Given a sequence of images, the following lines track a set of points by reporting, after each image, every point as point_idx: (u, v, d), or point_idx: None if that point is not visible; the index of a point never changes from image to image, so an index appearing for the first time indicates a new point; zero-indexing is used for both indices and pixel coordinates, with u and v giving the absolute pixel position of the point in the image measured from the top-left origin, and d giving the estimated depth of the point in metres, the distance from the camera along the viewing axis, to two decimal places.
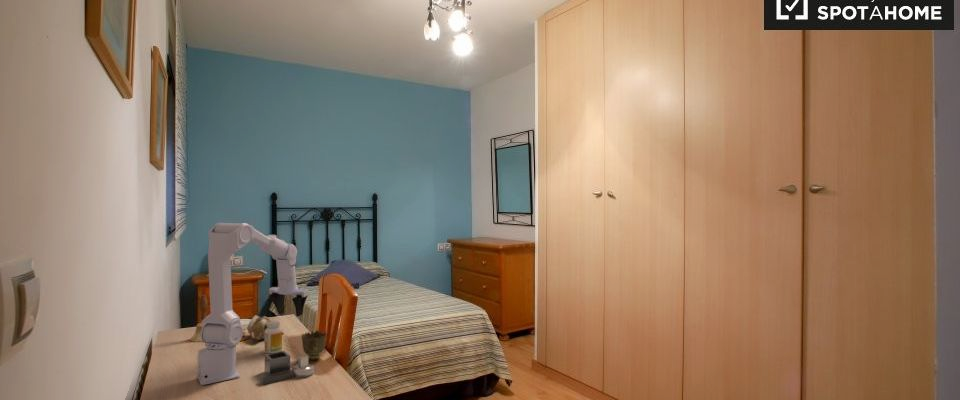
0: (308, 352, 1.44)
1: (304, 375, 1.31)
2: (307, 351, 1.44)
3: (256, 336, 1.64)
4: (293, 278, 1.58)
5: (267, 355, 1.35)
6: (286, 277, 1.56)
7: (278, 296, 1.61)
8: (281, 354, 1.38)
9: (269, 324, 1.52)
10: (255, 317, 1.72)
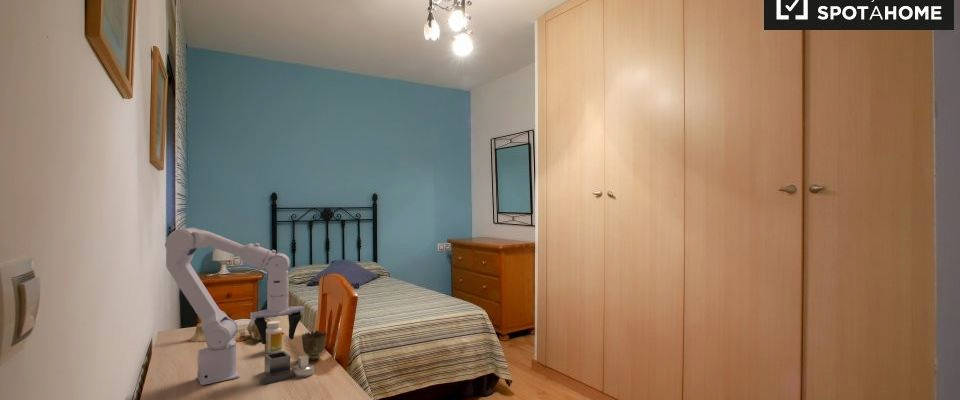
0: (308, 352, 1.44)
1: (304, 375, 1.31)
2: (307, 351, 1.44)
3: (256, 336, 1.64)
4: (267, 296, 1.33)
5: (267, 355, 1.35)
6: (268, 293, 1.33)
7: (290, 316, 1.38)
8: (281, 354, 1.38)
9: (269, 324, 1.52)
10: None
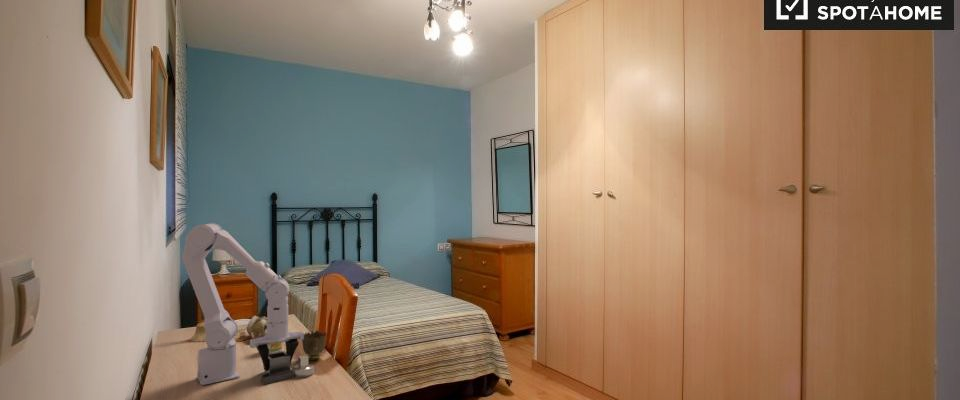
0: (308, 352, 1.44)
1: (304, 375, 1.31)
2: (307, 351, 1.44)
3: (256, 336, 1.63)
4: (267, 323, 1.33)
5: None
6: (268, 320, 1.33)
7: (287, 342, 1.38)
8: (281, 354, 1.38)
9: None
10: (254, 317, 1.72)
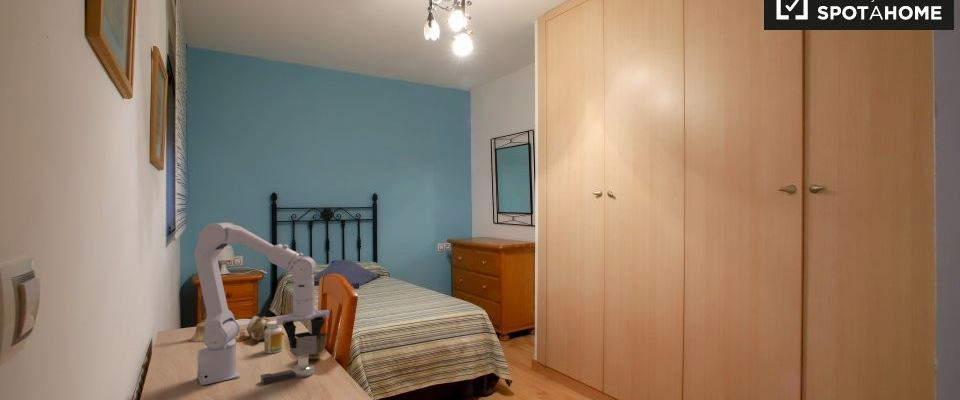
0: None
1: (304, 375, 1.31)
2: None
3: (256, 336, 1.63)
4: (293, 300, 1.32)
5: None
6: (293, 297, 1.32)
7: (313, 320, 1.36)
8: (307, 334, 1.37)
9: (269, 324, 1.52)
10: (254, 317, 1.72)
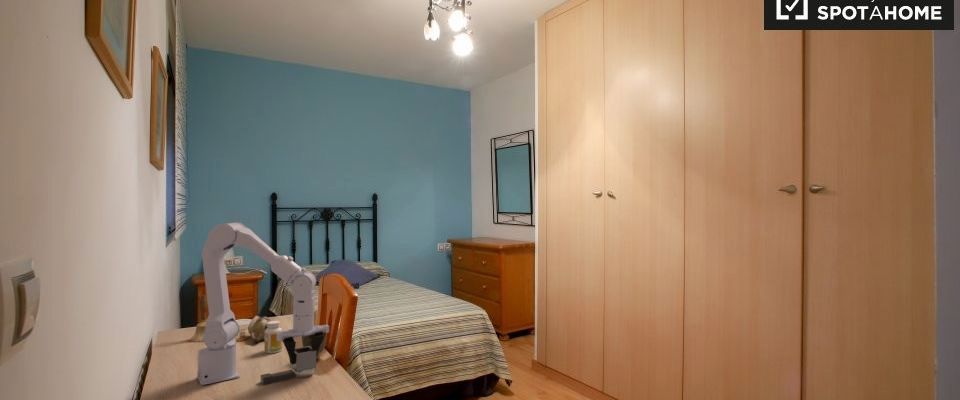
0: None
1: (304, 375, 1.31)
2: None
3: (256, 336, 1.63)
4: (293, 316, 1.32)
5: None
6: (293, 313, 1.32)
7: (313, 335, 1.36)
8: (306, 349, 1.37)
9: (269, 324, 1.52)
10: (256, 317, 1.72)
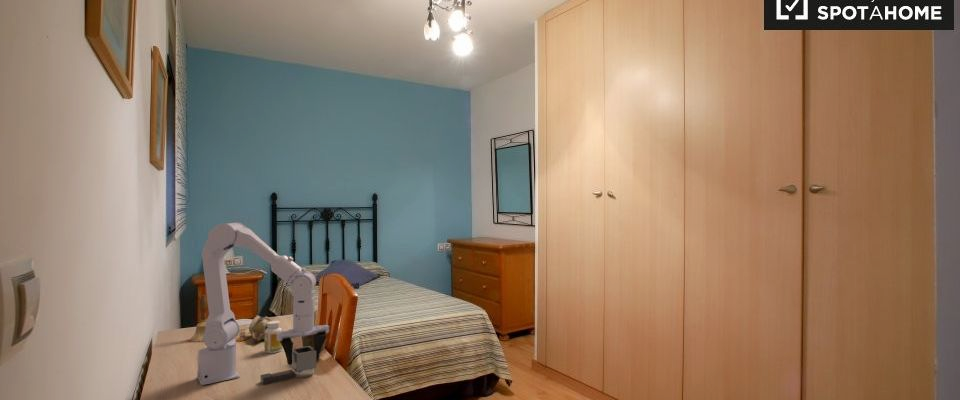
0: None
1: (304, 375, 1.31)
2: None
3: (257, 336, 1.63)
4: (293, 316, 1.32)
5: (293, 350, 1.34)
6: (293, 313, 1.32)
7: (315, 335, 1.37)
8: (306, 349, 1.37)
9: (269, 324, 1.52)
10: (257, 317, 1.72)
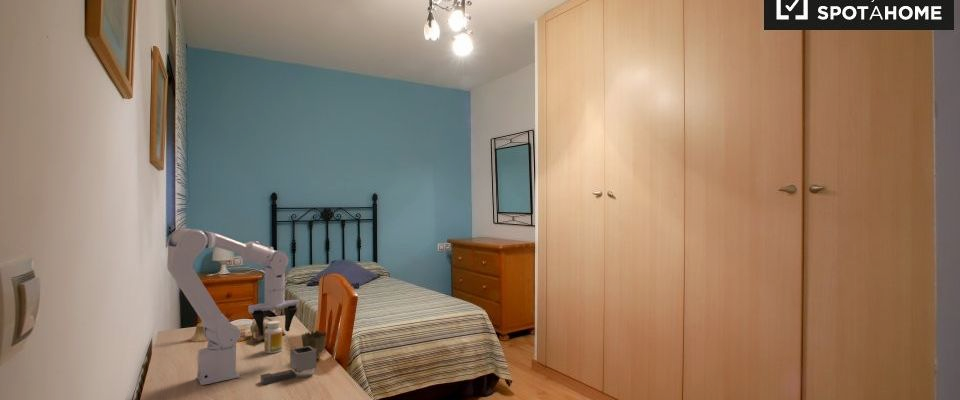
0: None
1: (304, 375, 1.31)
2: None
3: (257, 336, 1.63)
4: None
5: (293, 350, 1.34)
6: (269, 288, 1.40)
7: (286, 309, 1.46)
8: (306, 349, 1.37)
9: (269, 324, 1.52)
10: None
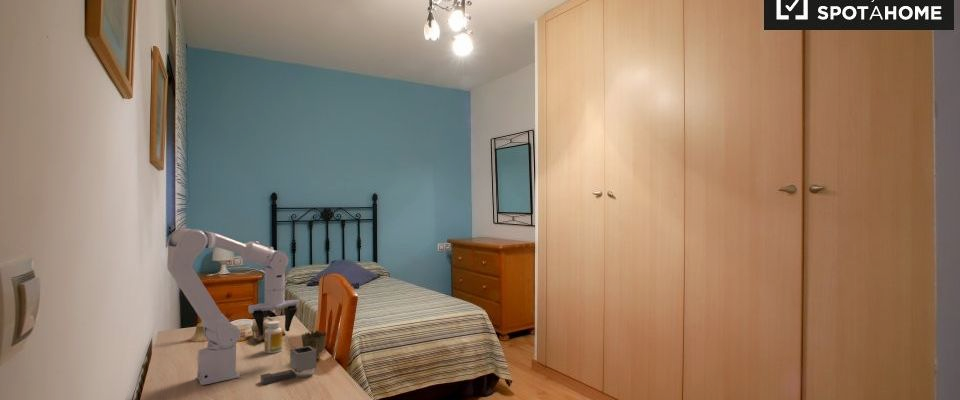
0: None
1: (304, 375, 1.31)
2: None
3: (258, 336, 1.63)
4: None
5: (293, 350, 1.34)
6: (269, 288, 1.40)
7: (286, 309, 1.46)
8: (306, 349, 1.37)
9: (269, 324, 1.52)
10: None
